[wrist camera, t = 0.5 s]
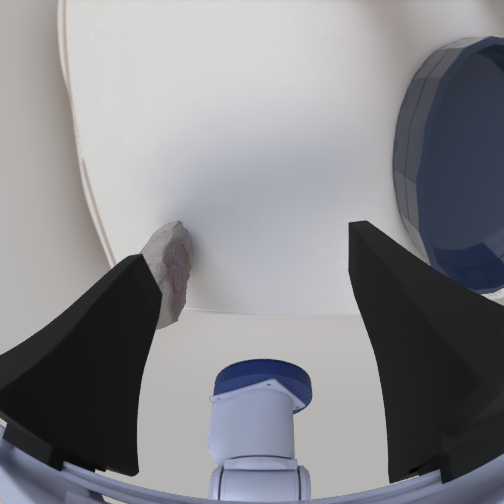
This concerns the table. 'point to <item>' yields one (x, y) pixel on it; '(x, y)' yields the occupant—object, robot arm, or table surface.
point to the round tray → (455, 162)
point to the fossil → (170, 268)
